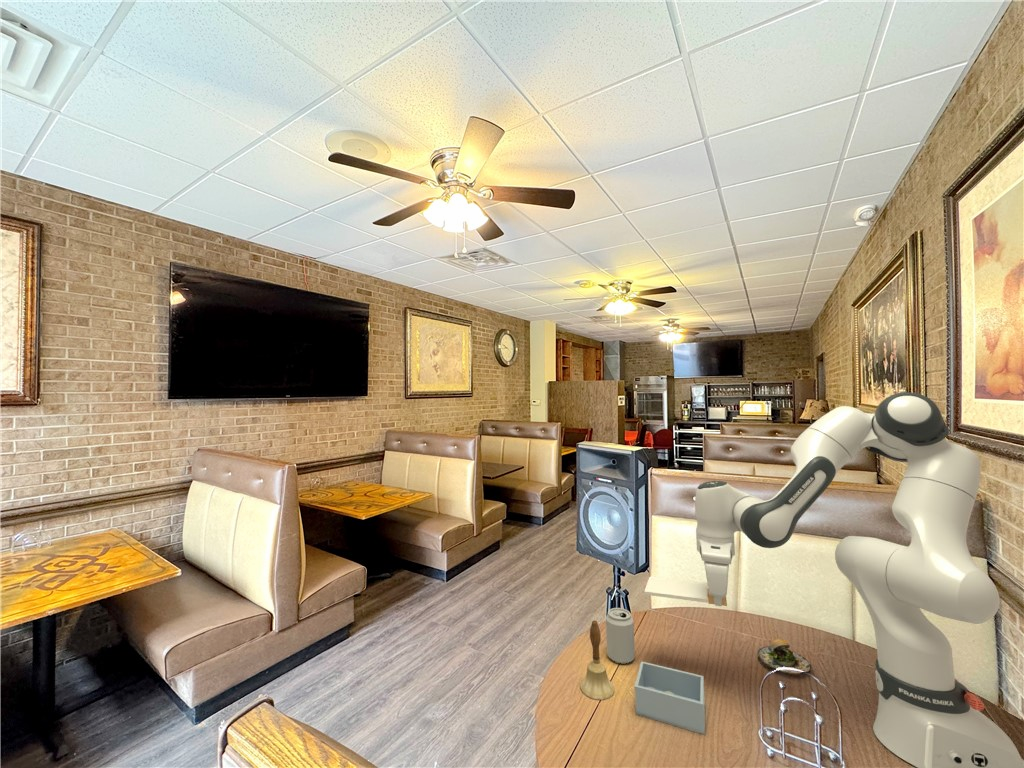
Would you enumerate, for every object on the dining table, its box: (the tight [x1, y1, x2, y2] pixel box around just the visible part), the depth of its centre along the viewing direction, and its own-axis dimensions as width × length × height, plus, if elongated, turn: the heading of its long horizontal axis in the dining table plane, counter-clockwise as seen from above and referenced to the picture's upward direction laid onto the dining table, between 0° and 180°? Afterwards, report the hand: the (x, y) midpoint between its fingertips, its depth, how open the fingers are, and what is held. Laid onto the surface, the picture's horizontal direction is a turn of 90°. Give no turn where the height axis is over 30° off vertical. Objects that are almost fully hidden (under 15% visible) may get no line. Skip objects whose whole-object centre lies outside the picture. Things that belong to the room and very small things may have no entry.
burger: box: [757, 630, 813, 675], centre depth 107 cm, size 12×12×8 cm
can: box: [605, 607, 636, 665], centre depth 112 cm, size 8×8×12 cm
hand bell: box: [579, 620, 615, 701], centre depth 100 cm, size 8×8×16 cm
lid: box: [643, 576, 728, 607], centre depth 106 cm, size 19×11×2 cm, turn 64°
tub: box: [634, 660, 706, 735], centre depth 92 cm, size 14×10×6 cm
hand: (717, 600), depth 103 cm, fingers closed on lid, 3 cm apart
